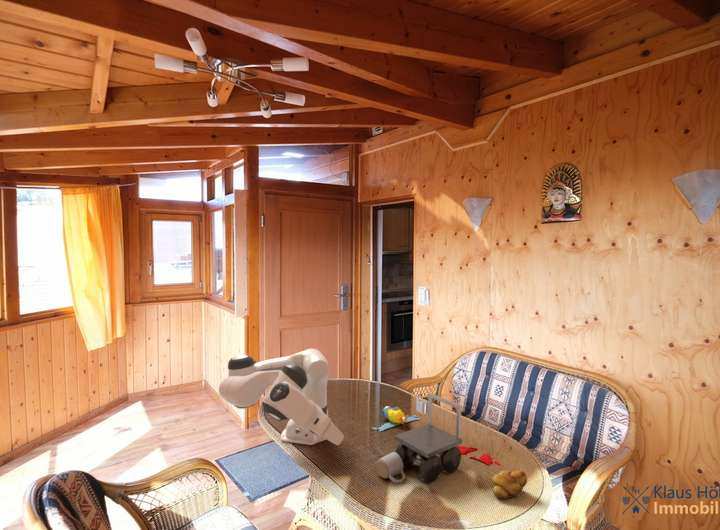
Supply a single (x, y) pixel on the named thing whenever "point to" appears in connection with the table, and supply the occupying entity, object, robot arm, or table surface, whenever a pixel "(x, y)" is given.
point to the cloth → (466, 450)
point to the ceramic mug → (390, 466)
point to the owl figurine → (395, 417)
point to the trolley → (431, 446)
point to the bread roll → (508, 484)
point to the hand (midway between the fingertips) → (334, 437)
